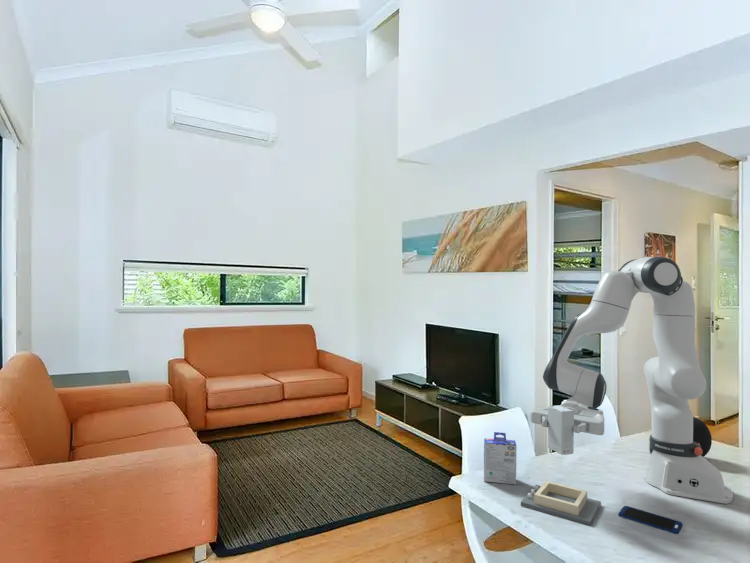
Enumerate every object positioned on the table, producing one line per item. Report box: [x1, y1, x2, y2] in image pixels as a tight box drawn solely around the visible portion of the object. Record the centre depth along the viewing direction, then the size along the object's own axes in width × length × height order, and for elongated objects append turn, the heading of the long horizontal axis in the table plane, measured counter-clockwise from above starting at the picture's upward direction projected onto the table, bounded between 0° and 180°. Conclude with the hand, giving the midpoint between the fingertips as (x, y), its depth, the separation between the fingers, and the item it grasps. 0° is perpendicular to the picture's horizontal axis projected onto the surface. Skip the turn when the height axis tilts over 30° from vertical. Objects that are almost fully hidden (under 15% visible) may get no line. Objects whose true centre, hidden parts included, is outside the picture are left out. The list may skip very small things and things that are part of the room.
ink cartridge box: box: [483, 431, 517, 485], centre depth 148 cm, size 10×6×14 cm, turn 78°
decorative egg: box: [693, 416, 713, 458], centre depth 169 cm, size 12×12×15 cm
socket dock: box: [520, 480, 602, 526], centre depth 132 cm, size 18×14×4 cm
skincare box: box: [547, 404, 575, 456], centre depth 132 cm, size 6×4×12 cm
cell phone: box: [617, 505, 684, 535], centre depth 124 cm, size 7×14×1 cm, turn 48°
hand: (559, 427), depth 132 cm, fingers closed on skincare box, 7 cm apart
